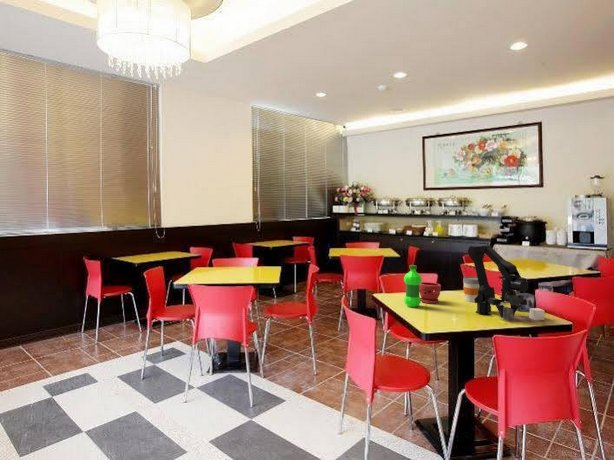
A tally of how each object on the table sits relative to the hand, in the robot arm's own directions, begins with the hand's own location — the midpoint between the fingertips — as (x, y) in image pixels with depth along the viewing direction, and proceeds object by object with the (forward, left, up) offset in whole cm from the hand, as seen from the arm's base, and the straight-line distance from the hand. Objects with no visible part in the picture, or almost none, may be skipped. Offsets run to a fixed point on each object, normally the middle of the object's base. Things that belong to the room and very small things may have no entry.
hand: (506, 317), depth 216 cm
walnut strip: (+11, 0, -2) cm, 11 cm away
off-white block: (+17, 0, -1) cm, 17 cm away
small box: (+21, +19, -2) cm, 28 cm away
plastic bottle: (-39, +35, -2) cm, 53 cm away
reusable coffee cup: (+5, +47, -2) cm, 47 cm away
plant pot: (-24, +46, -2) cm, 52 cm away
